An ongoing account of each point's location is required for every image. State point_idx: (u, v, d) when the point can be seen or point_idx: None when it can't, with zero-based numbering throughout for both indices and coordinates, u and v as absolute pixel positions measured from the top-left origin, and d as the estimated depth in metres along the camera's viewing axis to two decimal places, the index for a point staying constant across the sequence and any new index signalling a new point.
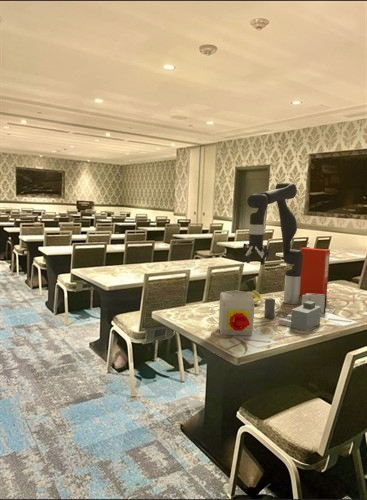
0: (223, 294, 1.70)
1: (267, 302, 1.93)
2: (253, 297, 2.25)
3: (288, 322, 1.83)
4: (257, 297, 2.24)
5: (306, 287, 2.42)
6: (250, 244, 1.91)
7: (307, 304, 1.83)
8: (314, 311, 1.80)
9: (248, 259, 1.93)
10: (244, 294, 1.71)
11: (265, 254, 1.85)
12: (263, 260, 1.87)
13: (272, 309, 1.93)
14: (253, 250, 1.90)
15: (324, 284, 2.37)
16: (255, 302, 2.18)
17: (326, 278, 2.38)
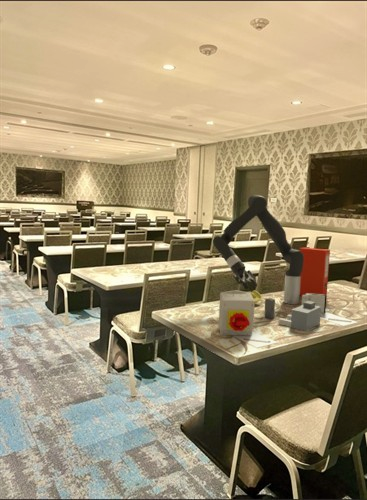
0: (223, 294, 1.70)
1: (267, 302, 1.93)
2: (254, 297, 2.25)
3: (288, 322, 1.83)
4: (257, 297, 2.24)
5: (306, 287, 2.42)
6: None
7: (307, 304, 1.83)
8: (314, 311, 1.80)
9: (253, 284, 2.06)
10: (244, 294, 1.71)
11: None
12: None
13: (272, 309, 1.93)
14: None
15: (324, 284, 2.37)
16: (255, 302, 2.18)
17: (326, 278, 2.38)
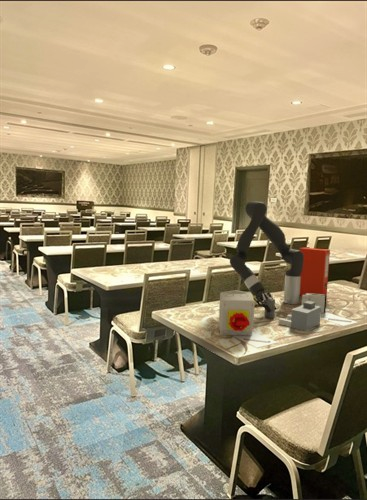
0: (223, 294, 1.70)
1: (267, 302, 1.93)
2: None
3: (288, 322, 1.83)
4: None
5: (306, 287, 2.42)
6: None
7: (307, 304, 1.83)
8: (314, 311, 1.80)
9: None
10: (244, 294, 1.71)
11: None
12: (265, 309, 1.93)
13: (272, 309, 1.93)
14: None
15: (324, 284, 2.37)
16: (256, 302, 2.17)
17: (326, 278, 2.38)
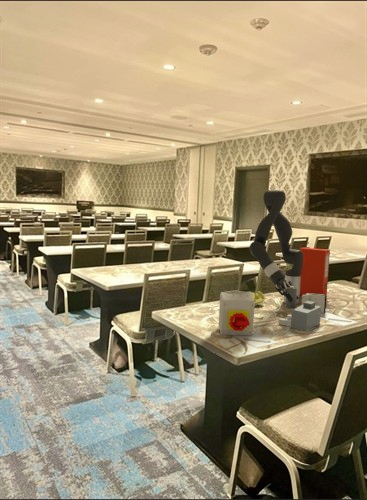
0: (223, 294, 1.70)
1: (289, 291, 1.84)
2: (257, 298, 2.23)
3: (288, 322, 1.83)
4: (261, 298, 2.22)
5: (306, 287, 2.42)
6: None
7: (307, 304, 1.83)
8: (314, 311, 1.80)
9: None
10: (244, 294, 1.71)
11: None
12: None
13: (294, 298, 1.84)
14: None
15: (324, 284, 2.37)
16: (257, 303, 2.17)
17: (326, 278, 2.38)
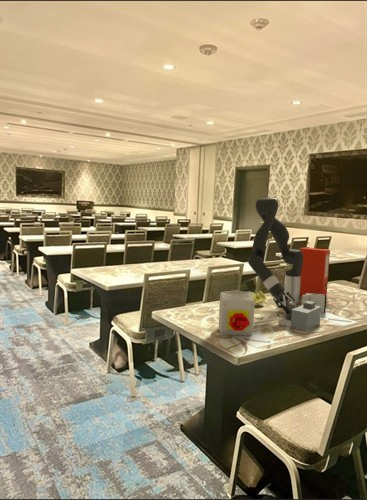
0: (223, 294, 1.70)
1: (288, 307, 1.85)
2: (258, 298, 2.23)
3: (288, 322, 1.83)
4: (262, 298, 2.21)
5: (306, 287, 2.42)
6: None
7: (307, 304, 1.83)
8: (314, 311, 1.80)
9: None
10: (244, 294, 1.71)
11: None
12: (284, 310, 1.84)
13: None
14: None
15: (324, 284, 2.37)
16: (258, 303, 2.16)
17: (326, 278, 2.38)
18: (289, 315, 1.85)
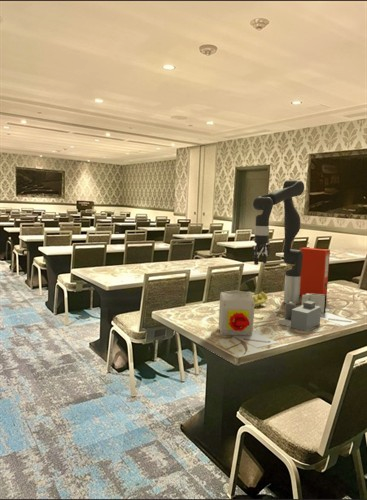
0: (223, 294, 1.70)
1: (288, 307, 1.85)
2: (260, 298, 2.22)
3: (288, 322, 1.83)
4: (264, 299, 2.20)
5: (306, 287, 2.42)
6: None
7: (307, 304, 1.83)
8: (314, 311, 1.80)
9: (263, 259, 2.02)
10: (244, 294, 1.71)
11: None
12: (254, 260, 1.96)
13: None
14: None
15: (324, 284, 2.37)
16: (259, 303, 2.15)
17: (326, 278, 2.38)
18: (289, 315, 1.85)
